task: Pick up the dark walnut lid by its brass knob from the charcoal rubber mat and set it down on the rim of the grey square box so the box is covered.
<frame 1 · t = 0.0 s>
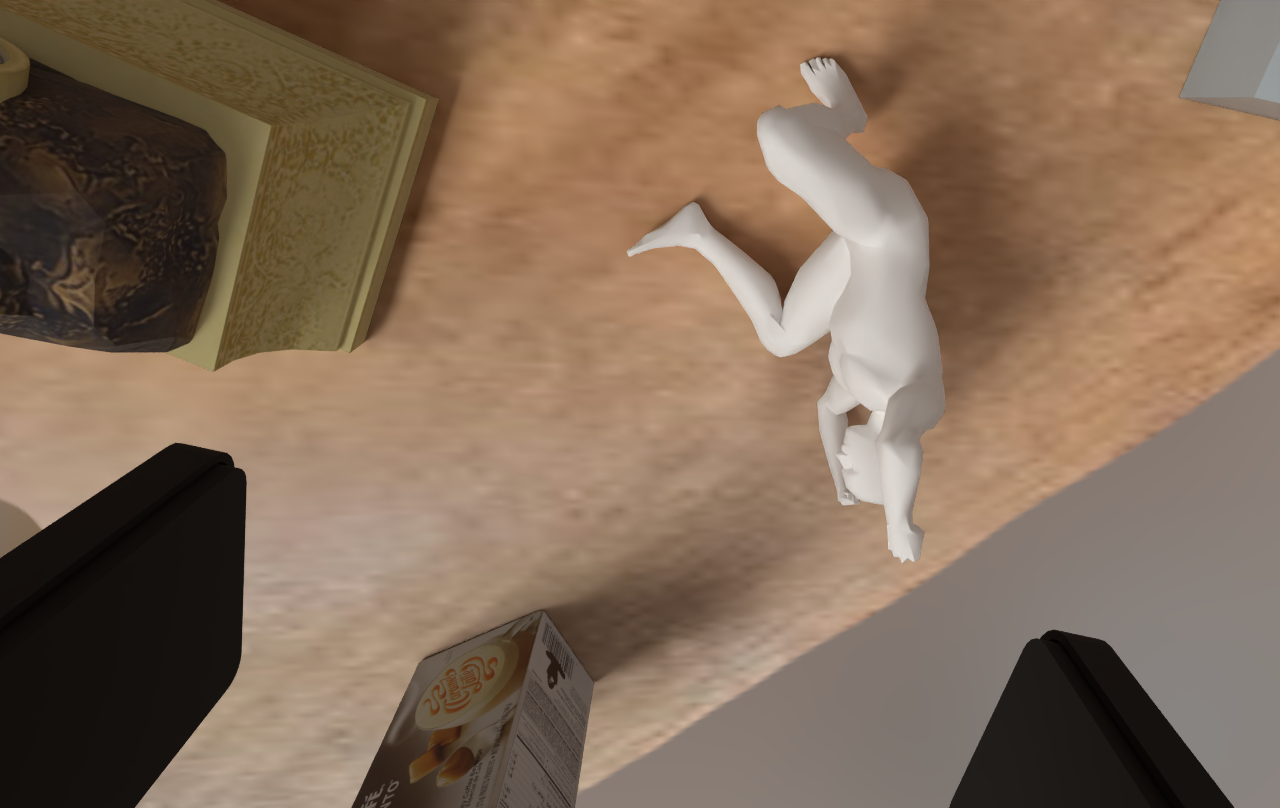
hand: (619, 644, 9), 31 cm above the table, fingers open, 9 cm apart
person figurine: (826, 283, 39), on the table
decorative clock: (125, 108, 38), on the table
coffee box: (508, 669, 49), on the table
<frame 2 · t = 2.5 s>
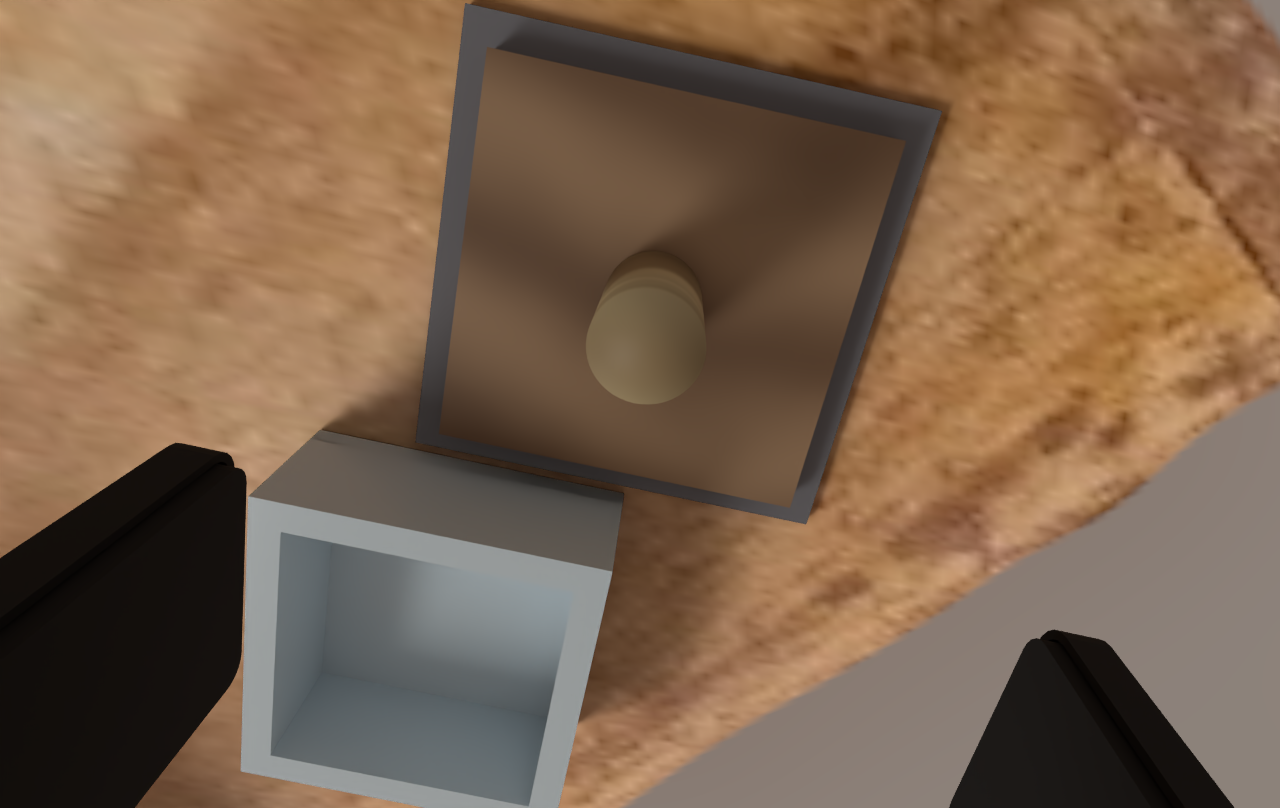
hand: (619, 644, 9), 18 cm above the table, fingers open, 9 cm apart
grey square box: (454, 588, 30), on the table
mat: (654, 289, 26), on the table
lid: (654, 292, 25), resting on mat
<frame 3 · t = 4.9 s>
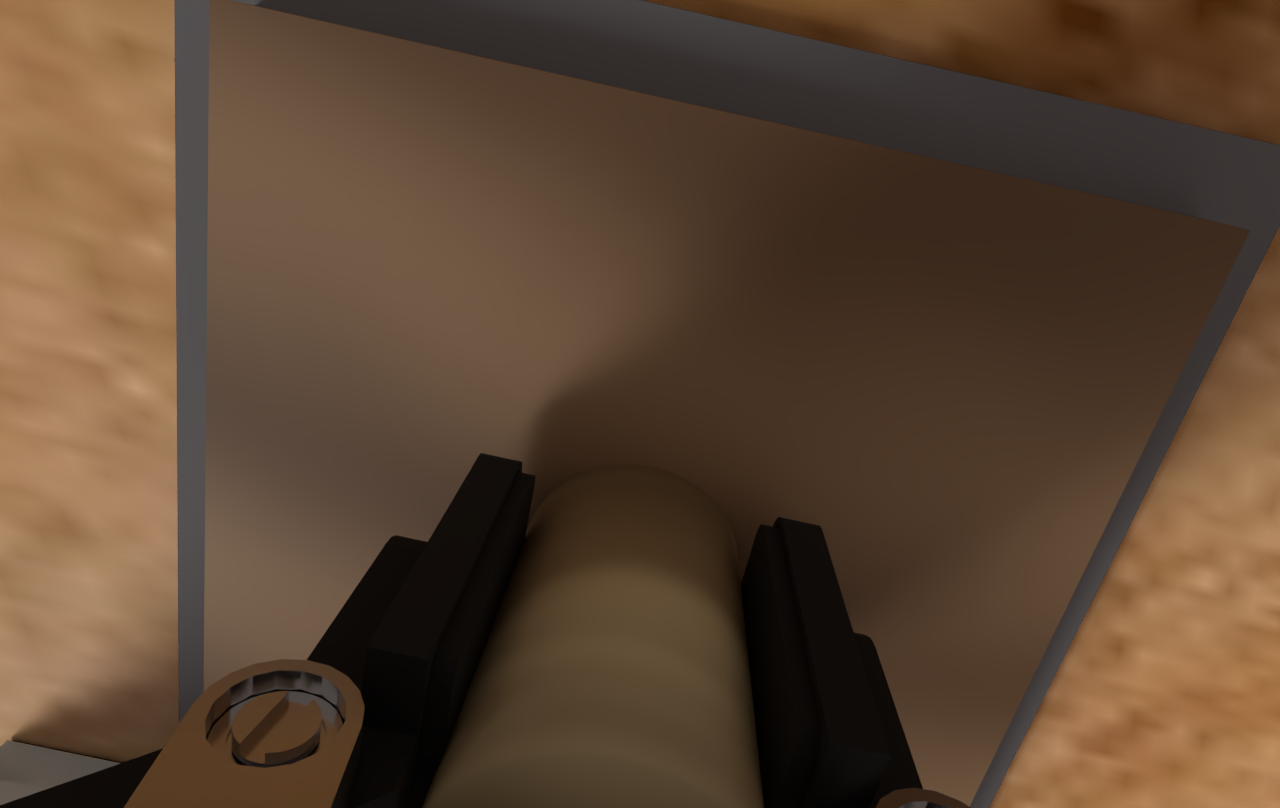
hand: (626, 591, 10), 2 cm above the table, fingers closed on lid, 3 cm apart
mat: (636, 513, 12), on the table
lid: (634, 526, 12), resting on mat, touching gripper
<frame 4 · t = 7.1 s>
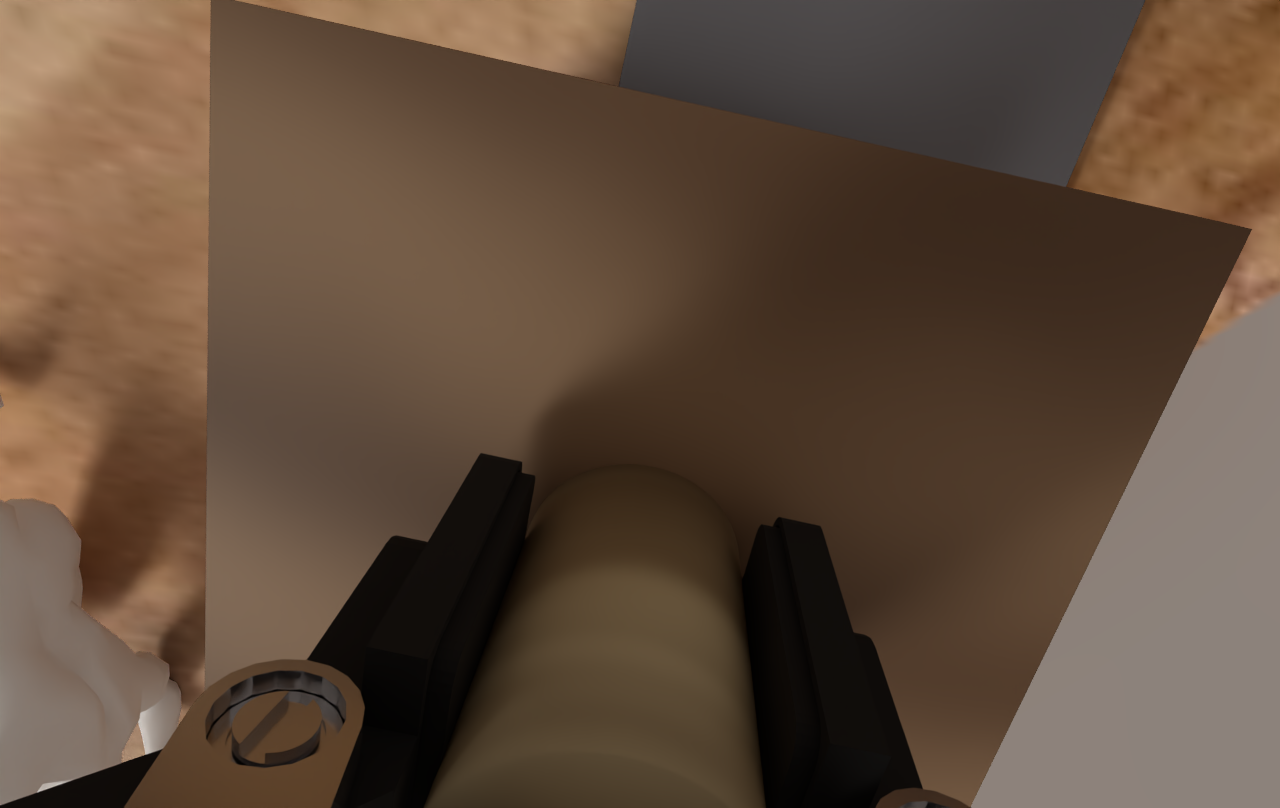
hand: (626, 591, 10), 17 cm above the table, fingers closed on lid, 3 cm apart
person figurine: (95, 560, 32), on the table
lid: (635, 525, 12), point 16 cm above the table, touching gripper
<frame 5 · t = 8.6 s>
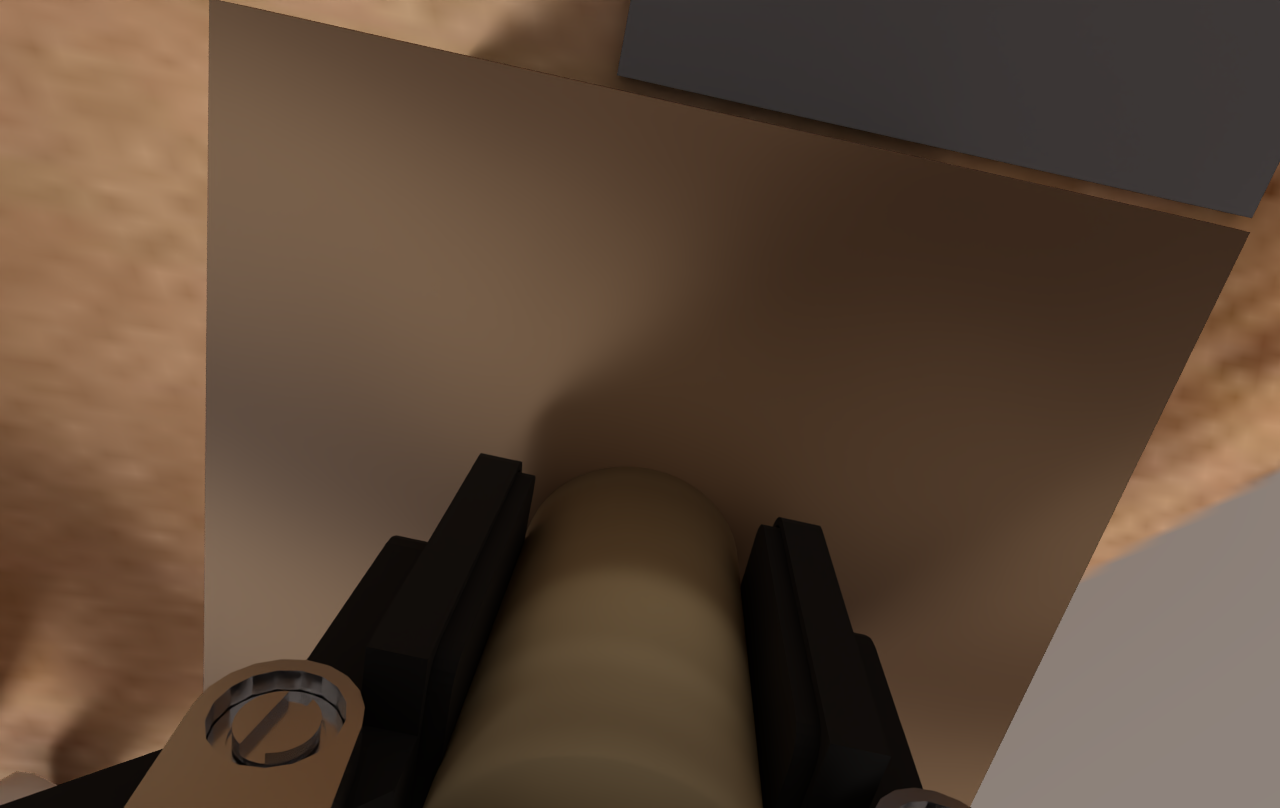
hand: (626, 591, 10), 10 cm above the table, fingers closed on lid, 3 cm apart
lid: (634, 527, 12), point 8 cm above the table, touching gripper
when the fingers open (8 cm above the table, at t = 9.6 s): lid drops 1 cm, resting on grey square box.
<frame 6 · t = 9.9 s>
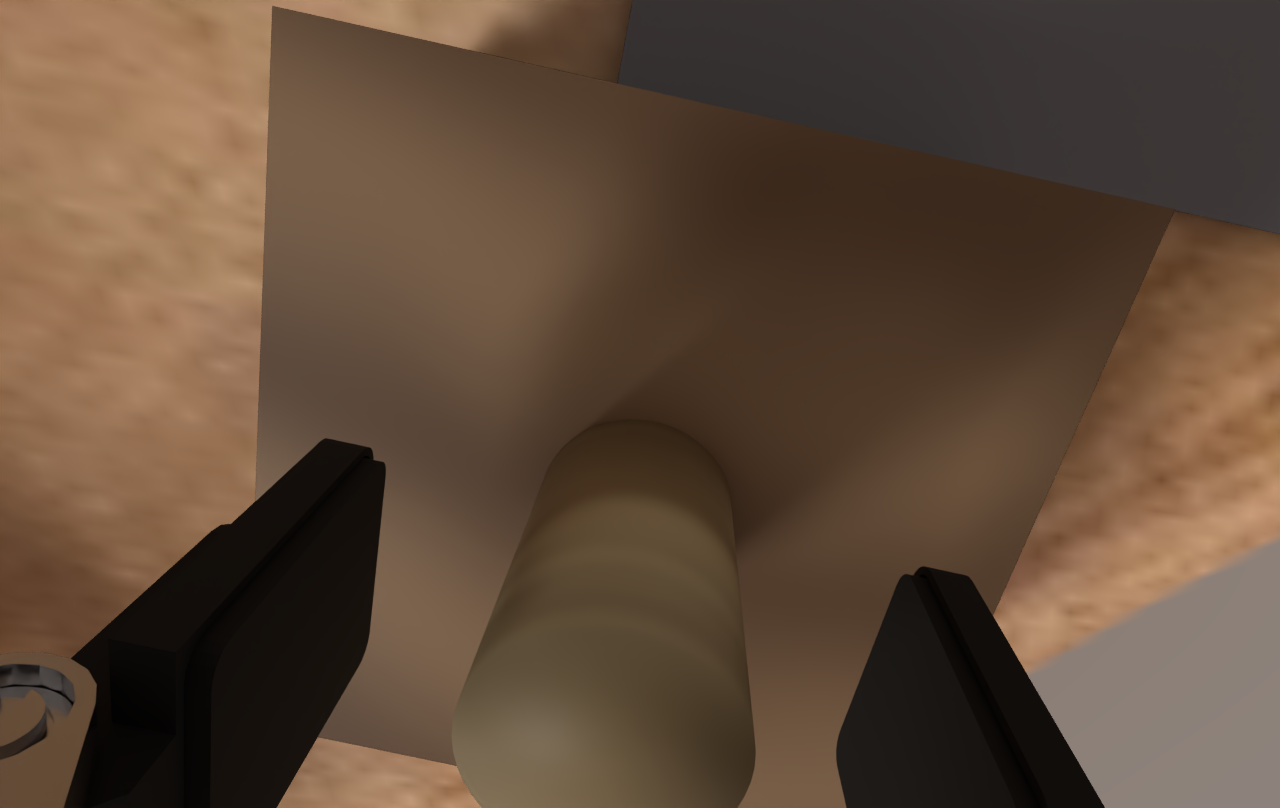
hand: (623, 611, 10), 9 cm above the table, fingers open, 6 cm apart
lid: (638, 479, 13), point 5 cm above the table, touching grey square box
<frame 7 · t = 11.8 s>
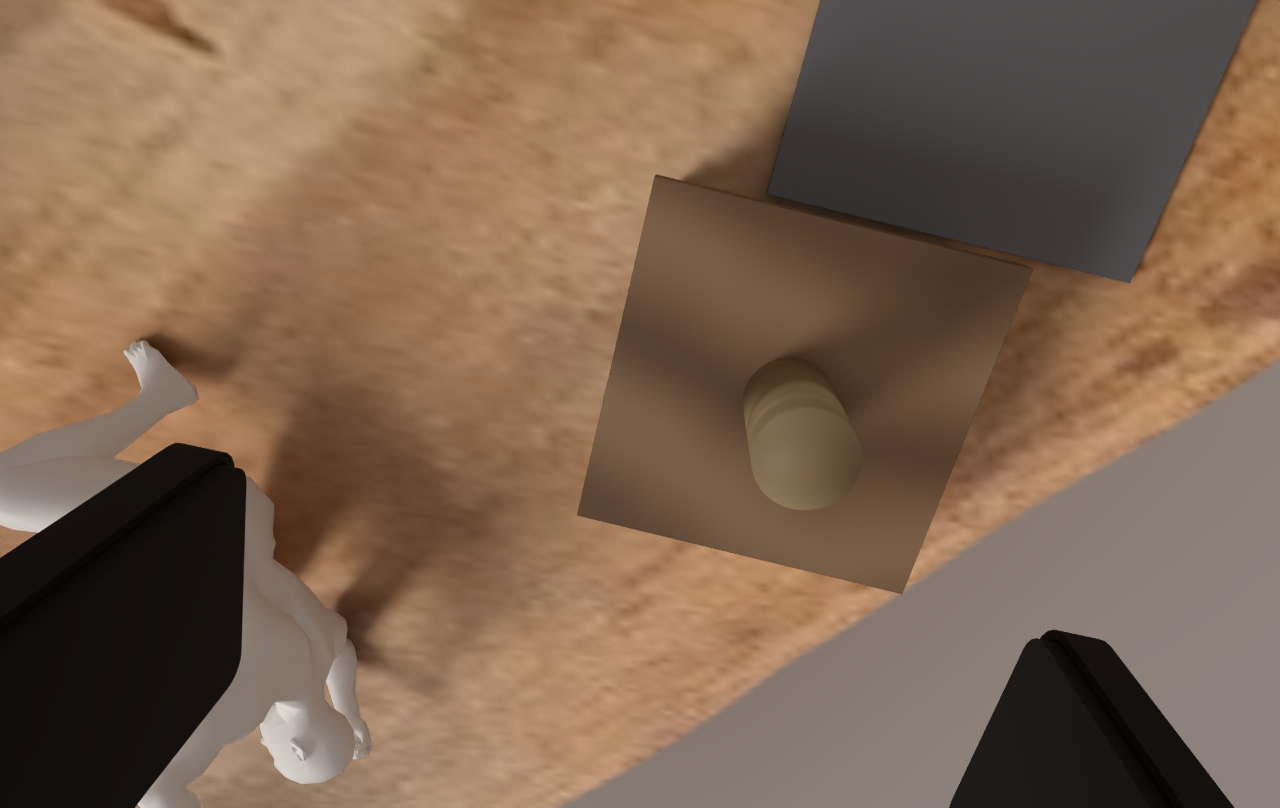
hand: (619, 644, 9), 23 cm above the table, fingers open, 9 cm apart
person figurine: (275, 534, 37), on the table
mat: (1017, 40, 28), on the table
lid: (785, 392, 27), point 5 cm above the table, touching grey square box
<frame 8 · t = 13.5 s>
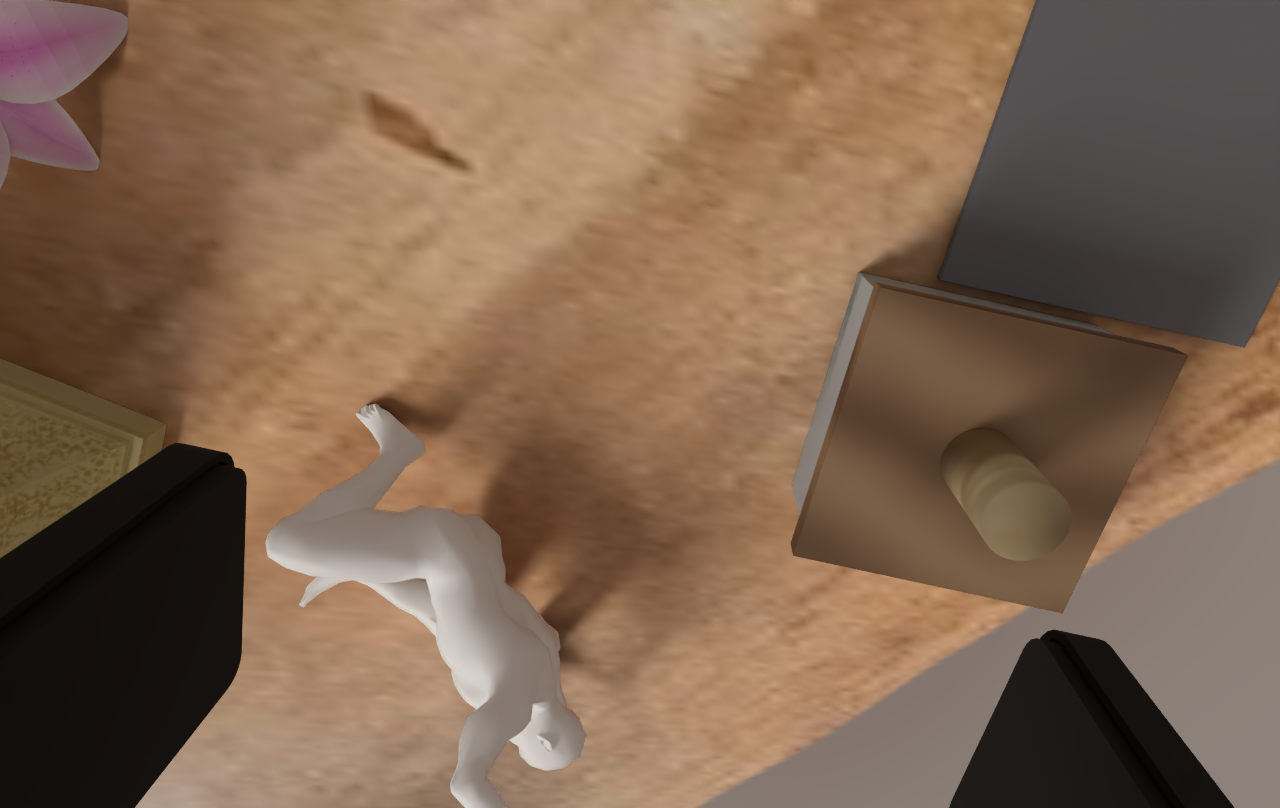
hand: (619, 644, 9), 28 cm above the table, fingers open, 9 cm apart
person figurine: (483, 559, 43), on the table
grey square box: (936, 409, 38), on the table
mat: (1157, 152, 33), on the table
lily: (36, 77, 35), on the table
lid: (970, 451, 33), point 5 cm above the table, touching grey square box
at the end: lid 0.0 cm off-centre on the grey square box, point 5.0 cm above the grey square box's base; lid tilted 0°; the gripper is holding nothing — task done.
